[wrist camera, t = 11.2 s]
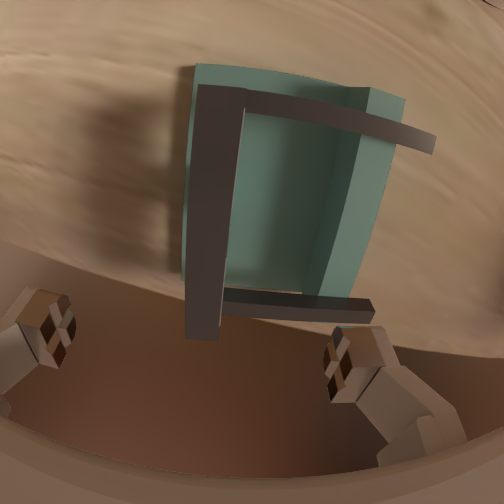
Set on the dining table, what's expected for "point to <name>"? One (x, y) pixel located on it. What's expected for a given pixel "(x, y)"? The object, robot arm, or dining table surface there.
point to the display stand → (300, 186)
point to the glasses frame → (221, 204)
